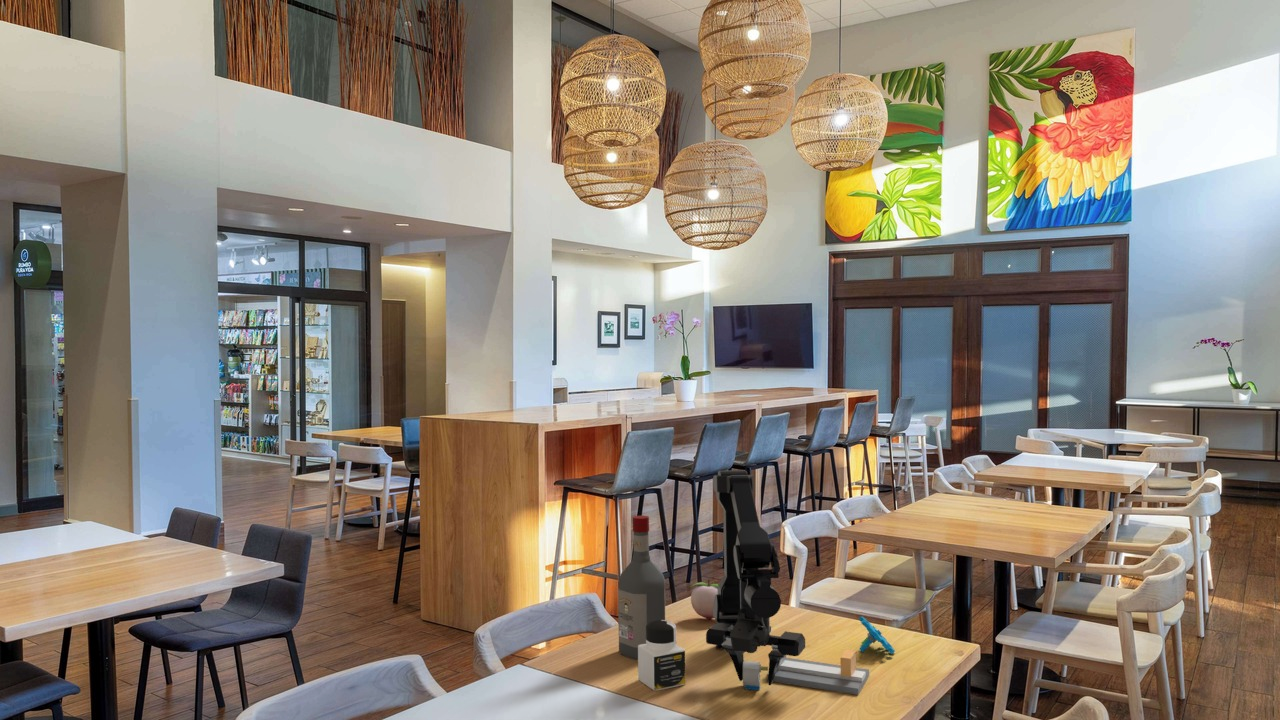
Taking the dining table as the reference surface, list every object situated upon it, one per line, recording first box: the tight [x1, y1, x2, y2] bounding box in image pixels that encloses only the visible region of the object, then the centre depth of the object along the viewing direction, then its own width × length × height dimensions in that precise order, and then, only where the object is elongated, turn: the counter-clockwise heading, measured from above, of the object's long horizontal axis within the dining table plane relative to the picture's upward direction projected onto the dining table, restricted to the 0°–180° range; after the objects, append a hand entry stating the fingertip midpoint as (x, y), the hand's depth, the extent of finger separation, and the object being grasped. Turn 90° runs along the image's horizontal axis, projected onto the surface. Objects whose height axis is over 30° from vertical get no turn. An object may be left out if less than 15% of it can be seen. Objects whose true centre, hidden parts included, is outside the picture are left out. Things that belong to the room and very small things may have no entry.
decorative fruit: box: [690, 579, 721, 620], centre depth 208 cm, size 9×8×10 cm
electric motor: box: [742, 660, 769, 691], centre depth 165 cm, size 7×5×5 cm
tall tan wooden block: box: [839, 649, 857, 677], centre depth 167 cm, size 2×5×4 cm, turn 154°
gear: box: [858, 616, 896, 655], centre depth 185 cm, size 11×6×10 cm
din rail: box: [766, 655, 870, 696], centre depth 169 cm, size 18×11×4 cm, turn 64°
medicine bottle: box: [637, 619, 686, 692], centre depth 168 cm, size 7×7×12 cm
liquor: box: [617, 515, 666, 661], centre depth 185 cm, size 9×9×30 cm
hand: (755, 682), depth 165 cm, fingers open, 6 cm apart
